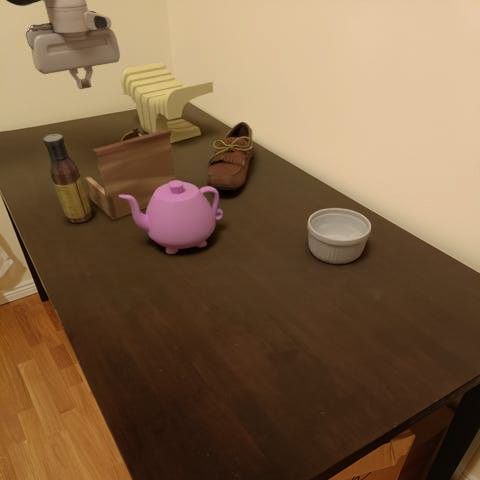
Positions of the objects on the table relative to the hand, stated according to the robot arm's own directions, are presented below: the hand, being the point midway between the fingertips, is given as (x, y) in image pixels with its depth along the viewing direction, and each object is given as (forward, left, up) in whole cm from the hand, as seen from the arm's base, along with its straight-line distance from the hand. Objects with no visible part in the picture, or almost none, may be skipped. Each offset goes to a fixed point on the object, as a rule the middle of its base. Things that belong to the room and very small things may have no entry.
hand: (84, 87), depth 106 cm
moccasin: (+34, +14, -23) cm, 43 cm away
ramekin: (+70, -11, -23) cm, 74 cm away
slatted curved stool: (+2, +34, -23) cm, 41 cm away
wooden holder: (+15, -8, -23) cm, 28 cm away
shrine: (+12, -4, -23) cm, 26 cm away
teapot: (+36, -21, -23) cm, 47 cm away
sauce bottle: (+8, -22, -23) cm, 33 cm away
